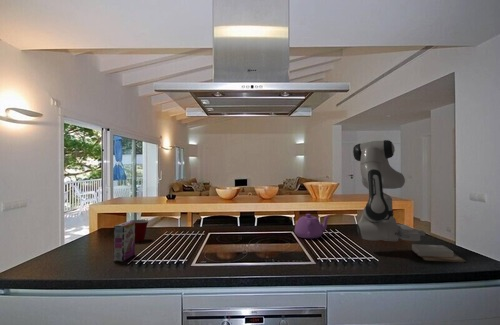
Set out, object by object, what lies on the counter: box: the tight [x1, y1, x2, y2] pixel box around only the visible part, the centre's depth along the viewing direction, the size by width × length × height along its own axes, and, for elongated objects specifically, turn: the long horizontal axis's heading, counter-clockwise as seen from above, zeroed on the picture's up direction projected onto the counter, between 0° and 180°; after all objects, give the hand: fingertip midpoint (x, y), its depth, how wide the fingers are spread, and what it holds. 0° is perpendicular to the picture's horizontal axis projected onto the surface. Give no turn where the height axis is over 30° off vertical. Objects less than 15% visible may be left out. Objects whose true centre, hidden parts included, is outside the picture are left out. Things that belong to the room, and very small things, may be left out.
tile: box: [411, 243, 455, 258], centre depth 135 cm, size 10×3×14 cm
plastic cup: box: [129, 219, 150, 243], centre depth 169 cm, size 11×11×12 cm
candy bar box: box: [113, 221, 136, 263], centre depth 136 cm, size 11×5×16 cm, turn 175°
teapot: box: [294, 213, 331, 239], centre depth 174 cm, size 22×22×14 cm
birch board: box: [419, 253, 466, 263], centre depth 134 cm, size 16×16×1 cm
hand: (424, 233), depth 136 cm, fingers closed
